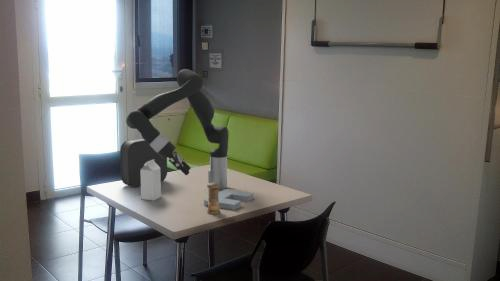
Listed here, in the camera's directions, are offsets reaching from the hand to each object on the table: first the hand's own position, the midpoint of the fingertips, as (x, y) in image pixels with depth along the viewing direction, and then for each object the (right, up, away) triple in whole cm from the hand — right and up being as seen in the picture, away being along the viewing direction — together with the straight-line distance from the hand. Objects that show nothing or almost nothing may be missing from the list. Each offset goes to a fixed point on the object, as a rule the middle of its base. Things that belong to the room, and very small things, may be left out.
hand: (188, 171), depth 213 cm
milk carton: (-22, -15, +24) cm, 36 cm away
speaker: (-31, -10, +51) cm, 61 cm away
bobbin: (+11, -19, +4) cm, 22 cm away
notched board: (+17, -16, +20) cm, 31 cm away
